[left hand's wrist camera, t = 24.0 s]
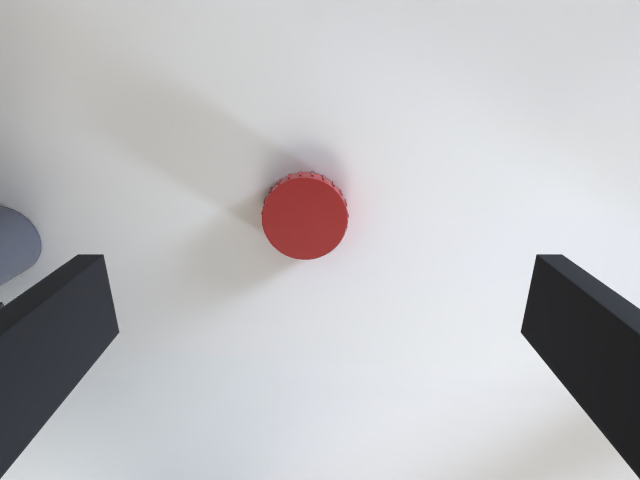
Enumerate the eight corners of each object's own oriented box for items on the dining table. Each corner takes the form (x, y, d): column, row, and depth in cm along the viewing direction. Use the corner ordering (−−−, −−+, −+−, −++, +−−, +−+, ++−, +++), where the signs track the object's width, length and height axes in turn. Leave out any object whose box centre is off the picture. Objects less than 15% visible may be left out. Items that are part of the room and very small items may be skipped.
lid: (317, 264, 25) (317, 276, 24) (248, 223, 24) (244, 232, 23) (363, 200, 24) (366, 208, 22) (292, 153, 23) (290, 158, 21)
